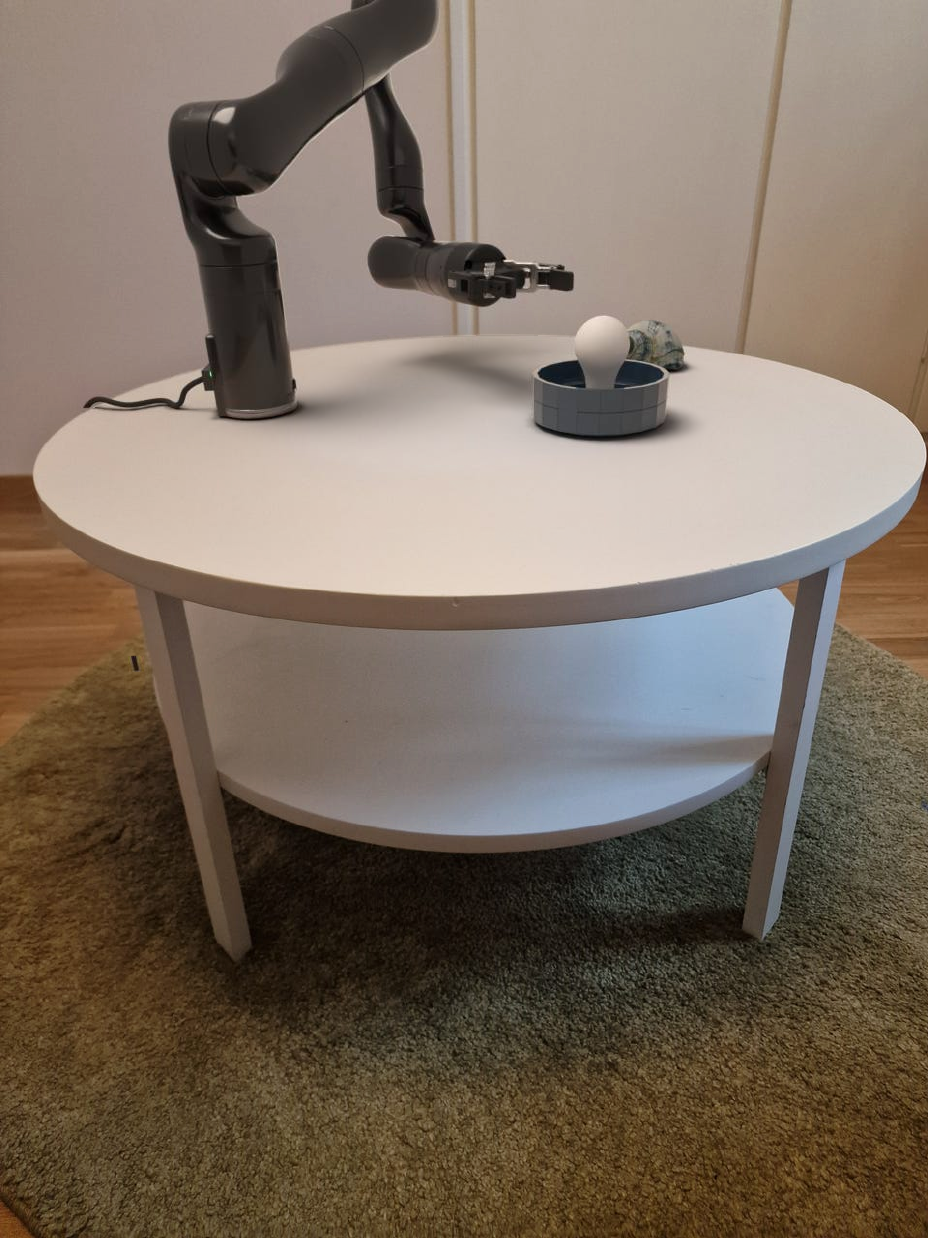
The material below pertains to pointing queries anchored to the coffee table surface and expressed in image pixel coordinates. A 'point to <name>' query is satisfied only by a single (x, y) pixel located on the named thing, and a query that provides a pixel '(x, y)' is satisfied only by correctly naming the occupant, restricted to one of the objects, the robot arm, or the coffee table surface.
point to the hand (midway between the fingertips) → (543, 285)
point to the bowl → (599, 399)
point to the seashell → (655, 344)
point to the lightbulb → (601, 350)
